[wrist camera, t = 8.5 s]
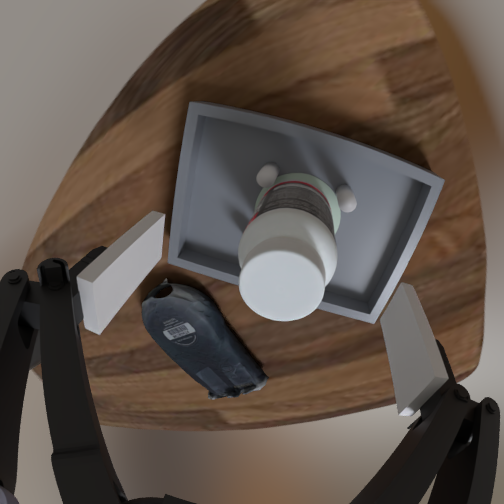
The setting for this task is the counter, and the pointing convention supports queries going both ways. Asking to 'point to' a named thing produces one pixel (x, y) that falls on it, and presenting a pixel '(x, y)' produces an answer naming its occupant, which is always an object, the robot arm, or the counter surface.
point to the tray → (307, 169)
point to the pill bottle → (288, 252)
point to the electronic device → (201, 341)
